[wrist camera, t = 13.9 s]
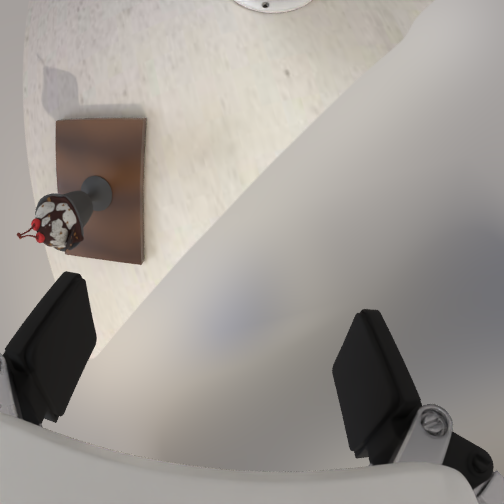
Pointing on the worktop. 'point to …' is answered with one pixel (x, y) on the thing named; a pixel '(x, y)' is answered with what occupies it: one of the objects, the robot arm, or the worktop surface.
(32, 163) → the worktop surface
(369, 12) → the worktop surface
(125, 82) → the worktop surface
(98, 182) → the sundae
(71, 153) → the serving board
